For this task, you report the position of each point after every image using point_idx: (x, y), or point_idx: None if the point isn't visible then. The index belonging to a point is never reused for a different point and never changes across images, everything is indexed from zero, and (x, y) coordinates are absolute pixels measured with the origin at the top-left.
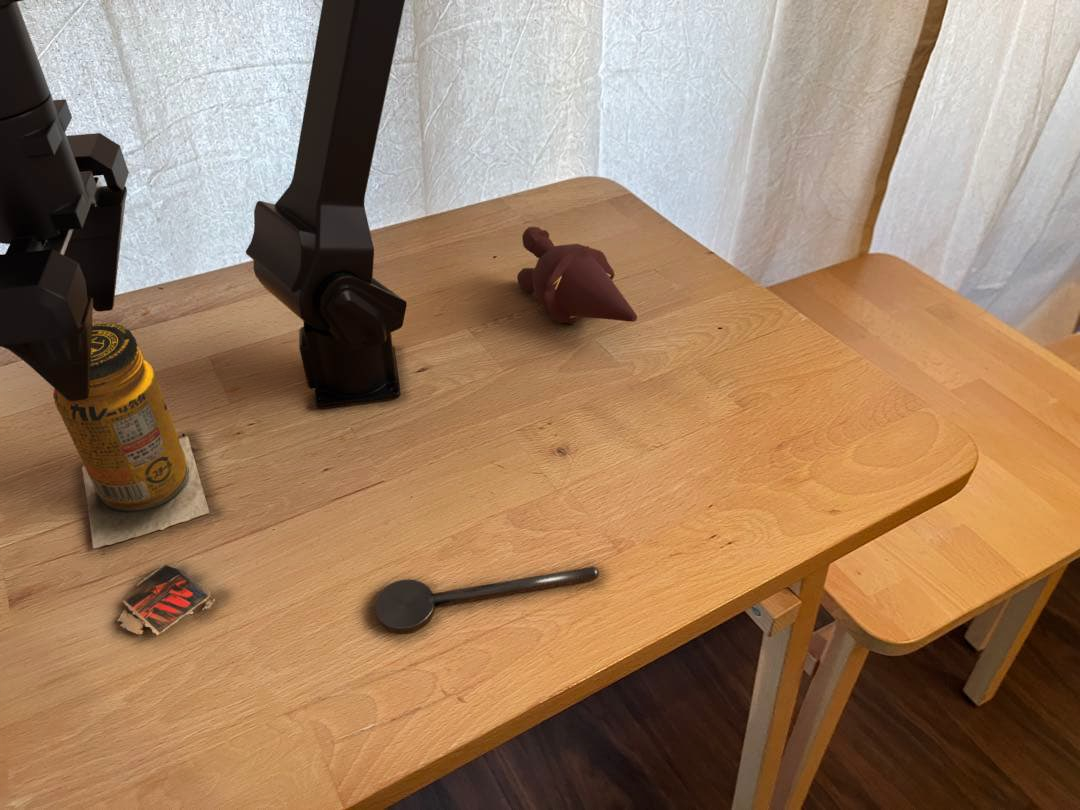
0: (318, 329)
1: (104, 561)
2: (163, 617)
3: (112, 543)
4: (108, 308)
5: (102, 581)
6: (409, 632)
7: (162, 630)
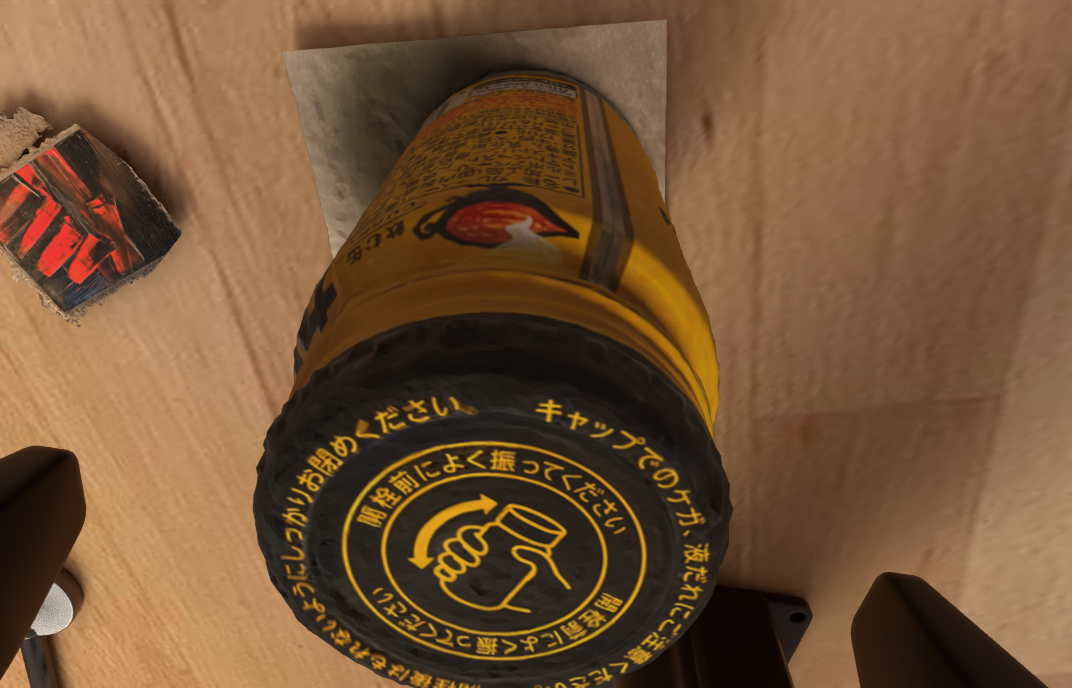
0: None
1: (247, 73)
2: (8, 217)
3: (300, 101)
4: (858, 627)
5: (174, 66)
6: None
7: None
